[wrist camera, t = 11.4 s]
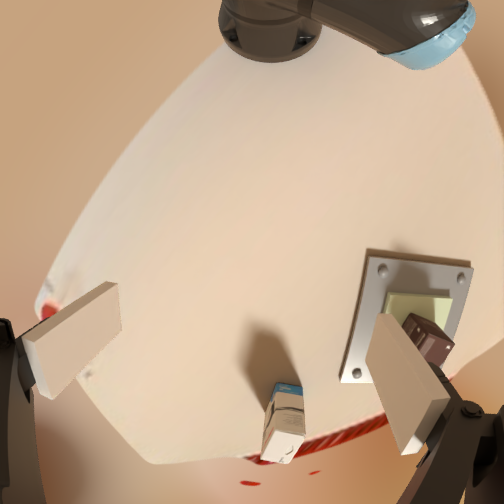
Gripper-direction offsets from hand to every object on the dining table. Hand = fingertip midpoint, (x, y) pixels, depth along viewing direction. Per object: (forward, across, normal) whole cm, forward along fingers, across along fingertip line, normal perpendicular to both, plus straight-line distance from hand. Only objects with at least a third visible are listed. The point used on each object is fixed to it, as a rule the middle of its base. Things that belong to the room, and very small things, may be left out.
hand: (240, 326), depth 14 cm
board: (+29, +25, -13) cm, 40 cm away
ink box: (+29, +6, -30) cm, 42 cm away
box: (+27, +25, -13) cm, 39 cm away
